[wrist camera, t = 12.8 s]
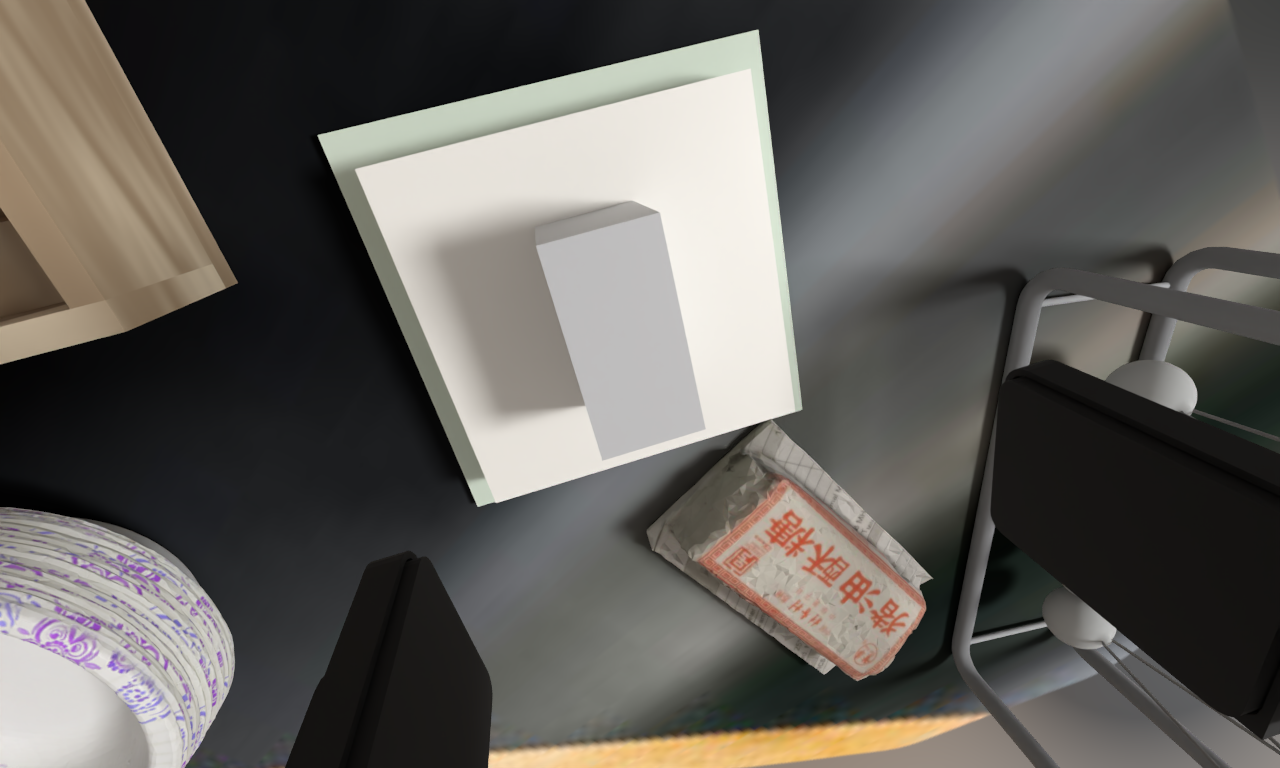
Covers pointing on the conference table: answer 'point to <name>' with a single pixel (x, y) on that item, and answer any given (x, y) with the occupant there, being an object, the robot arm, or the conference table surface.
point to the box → (86, 192)
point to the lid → (595, 280)
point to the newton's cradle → (1144, 379)
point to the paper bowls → (103, 648)
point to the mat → (518, 111)
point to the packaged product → (795, 556)
